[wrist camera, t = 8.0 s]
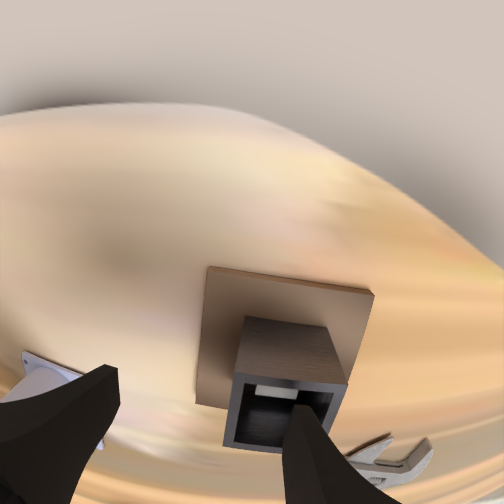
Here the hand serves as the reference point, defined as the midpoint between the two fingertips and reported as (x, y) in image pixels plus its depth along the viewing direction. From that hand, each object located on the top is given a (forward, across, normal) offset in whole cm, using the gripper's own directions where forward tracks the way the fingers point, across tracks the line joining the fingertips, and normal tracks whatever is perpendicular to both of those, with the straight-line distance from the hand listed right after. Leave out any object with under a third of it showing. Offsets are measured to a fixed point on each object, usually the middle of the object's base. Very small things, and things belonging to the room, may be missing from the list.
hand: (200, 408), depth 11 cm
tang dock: (+9, -4, +2) cm, 9 cm away
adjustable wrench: (+9, -12, +20) cm, 24 cm away
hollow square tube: (+8, -4, +1) cm, 9 cm away
